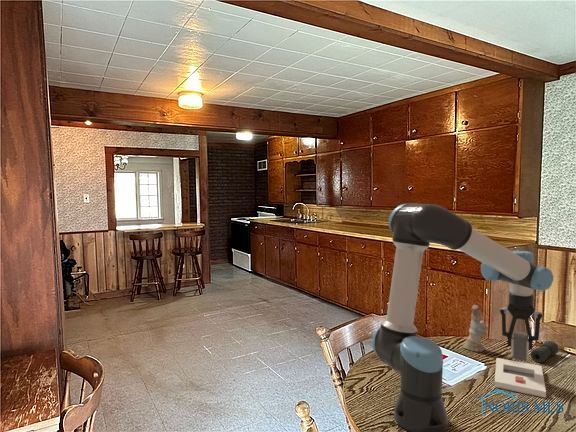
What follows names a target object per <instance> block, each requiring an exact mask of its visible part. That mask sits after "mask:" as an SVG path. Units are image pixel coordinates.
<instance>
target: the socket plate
mask: <svg viewBox="0 0 576 432" xmlns="http://www.w3.org/2000/svg"><path fill="white" fill-rule="evenodd" d="M493 385H494V388H498V389H502V390H508V391H513V392H518V393H522V394H526V395H532V396H536V397H541V398H547V390H546V384H545V378H544V373H543V366H542V365H537V364H533V363H527V362H524V361H518V360H511V359H506V358H500V357H496V359H495V372H494V383H493Z"/></svg>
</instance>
